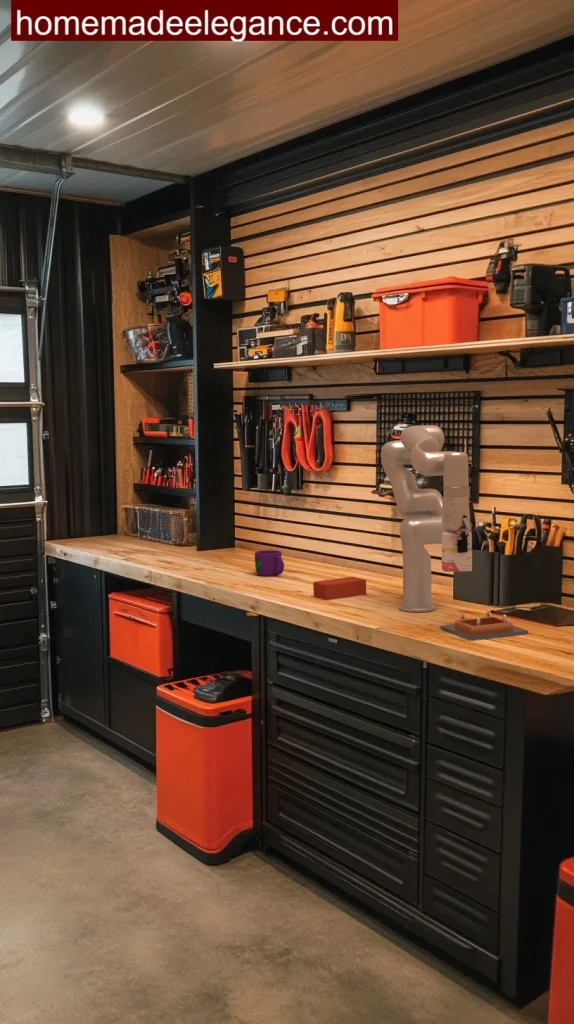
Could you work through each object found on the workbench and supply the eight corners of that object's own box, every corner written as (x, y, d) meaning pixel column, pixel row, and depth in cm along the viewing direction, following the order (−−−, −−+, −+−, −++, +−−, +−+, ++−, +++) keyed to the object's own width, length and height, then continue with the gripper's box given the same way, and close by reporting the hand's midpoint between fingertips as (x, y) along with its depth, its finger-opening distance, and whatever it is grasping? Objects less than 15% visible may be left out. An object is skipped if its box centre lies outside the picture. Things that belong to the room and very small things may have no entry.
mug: (250, 574, 390) (249, 551, 389) (272, 571, 396) (271, 549, 395) (272, 579, 376) (271, 556, 375) (294, 576, 382) (294, 553, 381)
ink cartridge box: (444, 572, 275) (443, 523, 274) (441, 569, 280) (440, 522, 279) (472, 571, 276) (471, 523, 275) (469, 569, 281) (468, 521, 280)
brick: (353, 592, 346) (352, 576, 345) (366, 595, 338) (366, 579, 337) (313, 597, 337) (312, 581, 336) (326, 601, 329) (326, 584, 328)
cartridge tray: (440, 628, 279) (440, 611, 279) (496, 622, 286) (496, 605, 285) (469, 640, 263) (469, 622, 263) (528, 633, 270) (528, 615, 269)
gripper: (431, 492, 283) (432, 549, 285) (459, 494, 267) (460, 555, 268) (453, 491, 286) (454, 547, 287) (481, 493, 269) (482, 553, 271)
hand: (456, 550), depth 278 cm, fingers closed on ink cartridge box, 6 cm apart
